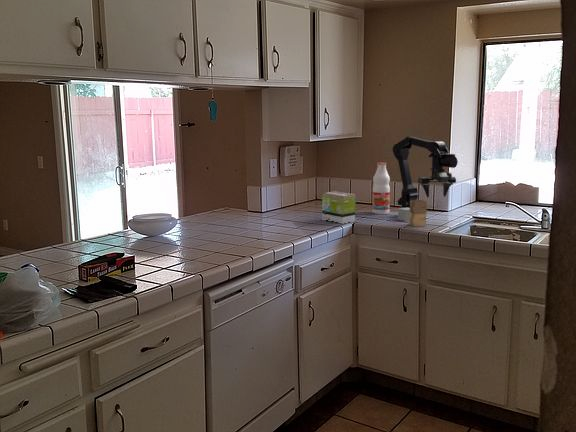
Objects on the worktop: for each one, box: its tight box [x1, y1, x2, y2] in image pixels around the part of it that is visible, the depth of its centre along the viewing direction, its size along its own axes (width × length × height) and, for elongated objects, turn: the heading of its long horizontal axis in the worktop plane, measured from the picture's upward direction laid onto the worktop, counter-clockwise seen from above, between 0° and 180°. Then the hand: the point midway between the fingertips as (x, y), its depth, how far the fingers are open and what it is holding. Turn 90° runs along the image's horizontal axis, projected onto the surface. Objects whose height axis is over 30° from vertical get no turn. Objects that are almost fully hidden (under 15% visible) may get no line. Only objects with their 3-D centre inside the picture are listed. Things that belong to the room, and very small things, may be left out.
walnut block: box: [410, 199, 428, 215], centre depth 288 cm, size 6×6×6 cm
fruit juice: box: [371, 162, 391, 215], centre depth 322 cm, size 9×9×28 cm
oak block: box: [409, 213, 427, 227], centre depth 289 cm, size 6×6×6 cm
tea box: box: [321, 190, 357, 225], centre depth 300 cm, size 15×10×15 cm, turn 42°
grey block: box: [397, 207, 410, 222], centre depth 303 cm, size 6×6×6 cm
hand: (436, 196), depth 297 cm, fingers open, 9 cm apart
